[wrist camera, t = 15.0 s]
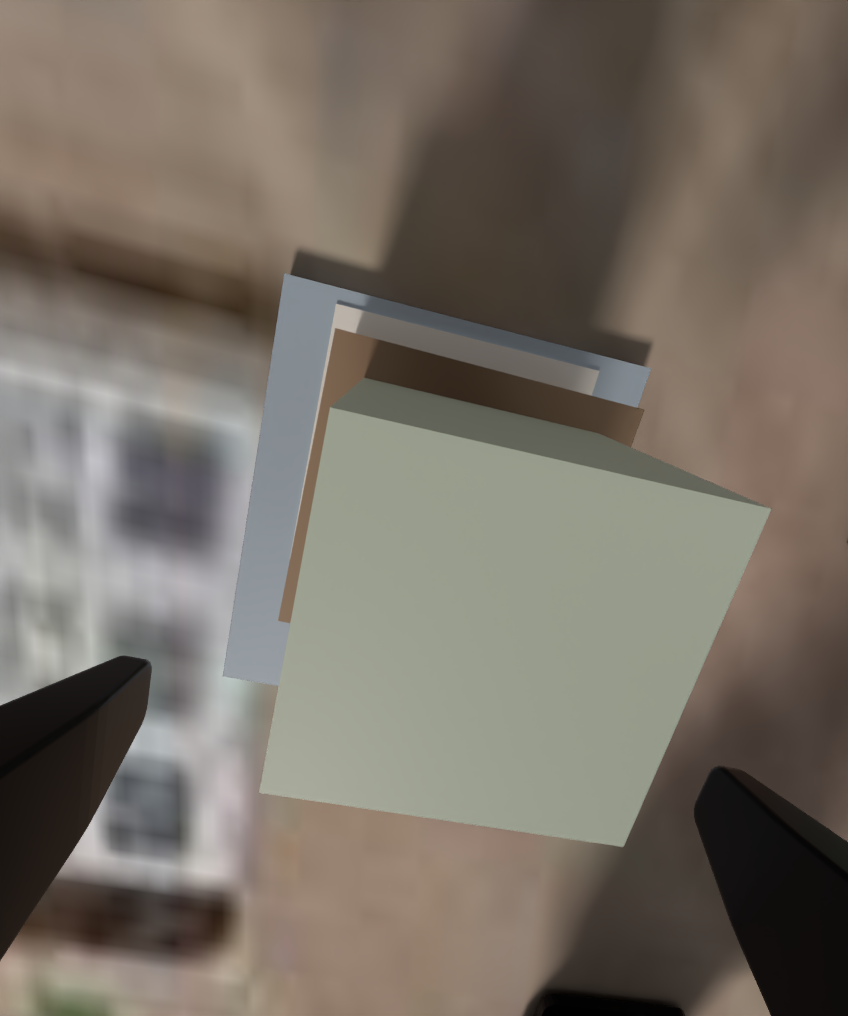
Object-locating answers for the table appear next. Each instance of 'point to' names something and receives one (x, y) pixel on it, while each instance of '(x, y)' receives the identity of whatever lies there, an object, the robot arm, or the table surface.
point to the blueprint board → (295, 412)
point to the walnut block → (451, 380)
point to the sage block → (496, 617)
